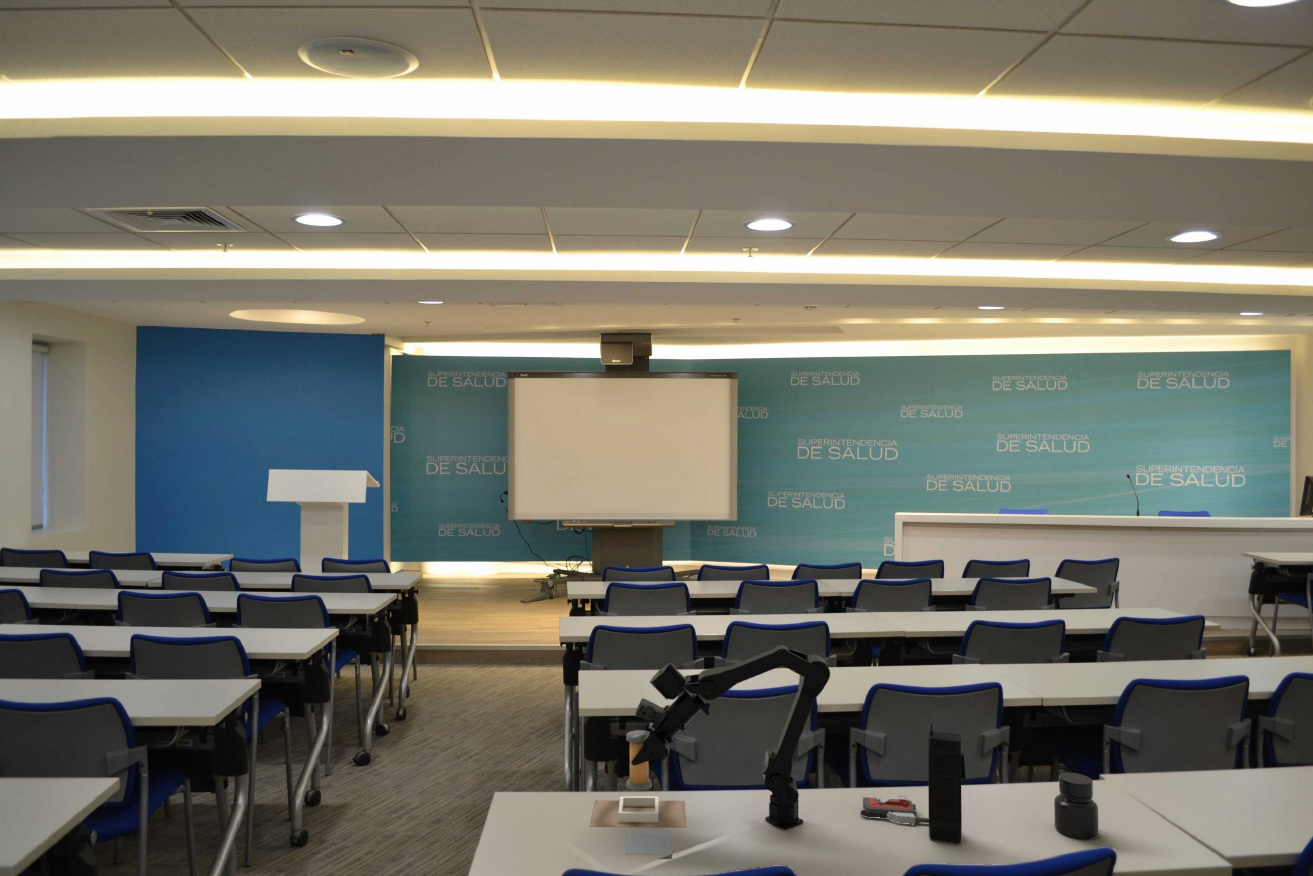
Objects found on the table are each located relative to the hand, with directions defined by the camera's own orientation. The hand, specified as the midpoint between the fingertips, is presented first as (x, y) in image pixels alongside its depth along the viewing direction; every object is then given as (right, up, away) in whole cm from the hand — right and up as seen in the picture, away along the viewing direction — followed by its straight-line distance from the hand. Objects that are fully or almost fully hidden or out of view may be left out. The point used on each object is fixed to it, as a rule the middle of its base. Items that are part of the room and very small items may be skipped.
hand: (633, 759), depth 188 cm
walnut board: (+1, -13, 0) cm, 13 cm away
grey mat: (+4, -13, -15) cm, 20 cm away
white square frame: (+1, -13, 0) cm, 13 cm away
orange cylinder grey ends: (+1, -6, 0) cm, 6 cm away
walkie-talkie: (+64, -14, +1) cm, 65 cm away
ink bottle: (+101, -14, -7) cm, 102 cm away
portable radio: (+71, -14, -10) cm, 73 cm away
